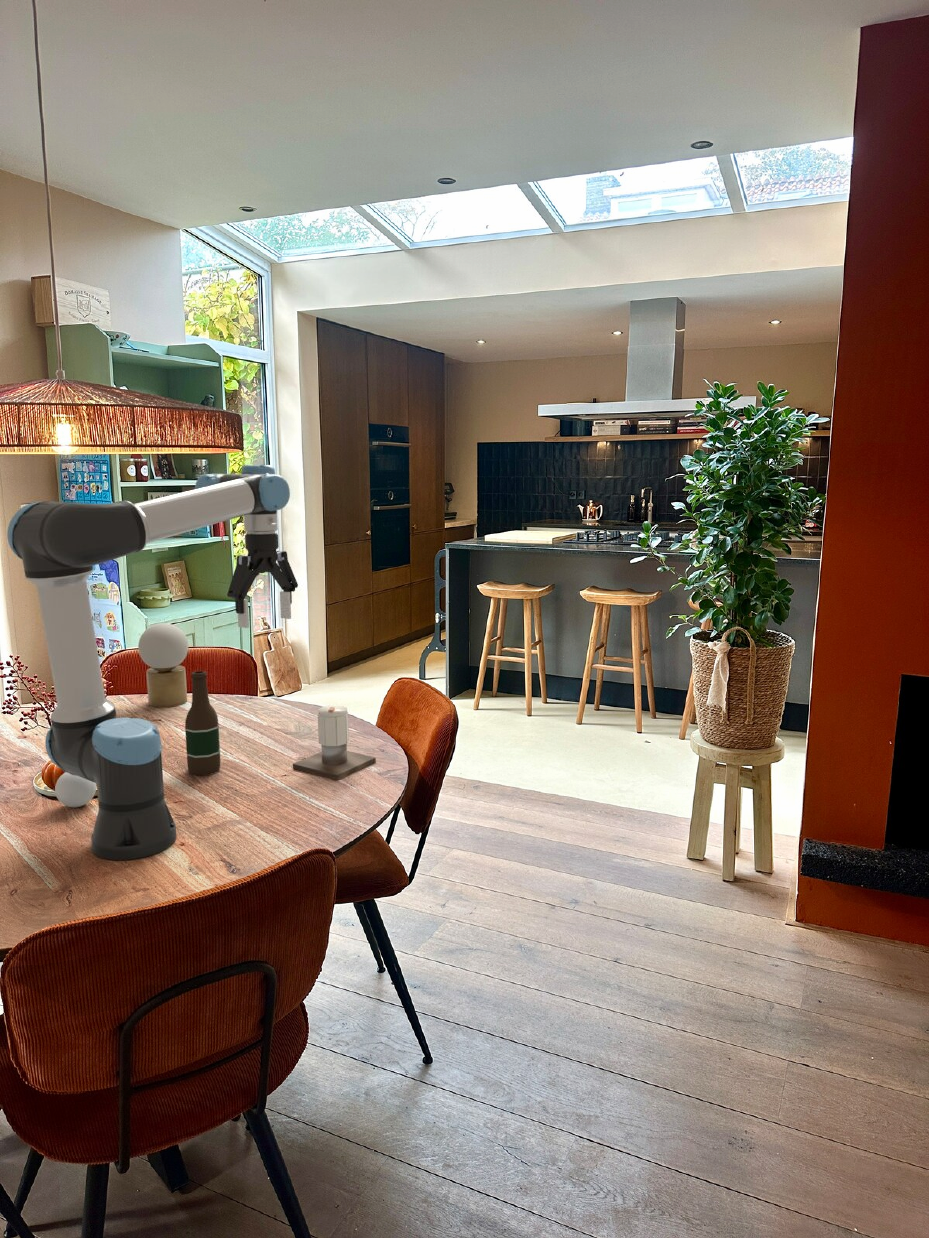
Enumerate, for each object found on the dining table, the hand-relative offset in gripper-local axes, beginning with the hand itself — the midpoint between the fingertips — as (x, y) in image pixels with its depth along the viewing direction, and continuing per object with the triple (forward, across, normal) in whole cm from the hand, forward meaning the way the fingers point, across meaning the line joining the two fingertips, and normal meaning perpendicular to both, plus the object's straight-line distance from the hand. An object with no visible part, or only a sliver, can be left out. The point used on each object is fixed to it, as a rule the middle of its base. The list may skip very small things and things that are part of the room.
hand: (265, 622), depth 199 cm
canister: (+29, +7, -14) cm, 33 cm away
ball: (+35, -41, +16) cm, 56 cm away
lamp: (+35, +21, +65) cm, 77 cm away
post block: (+35, +7, -14) cm, 38 cm away
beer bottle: (+35, -12, +10) cm, 38 cm away
